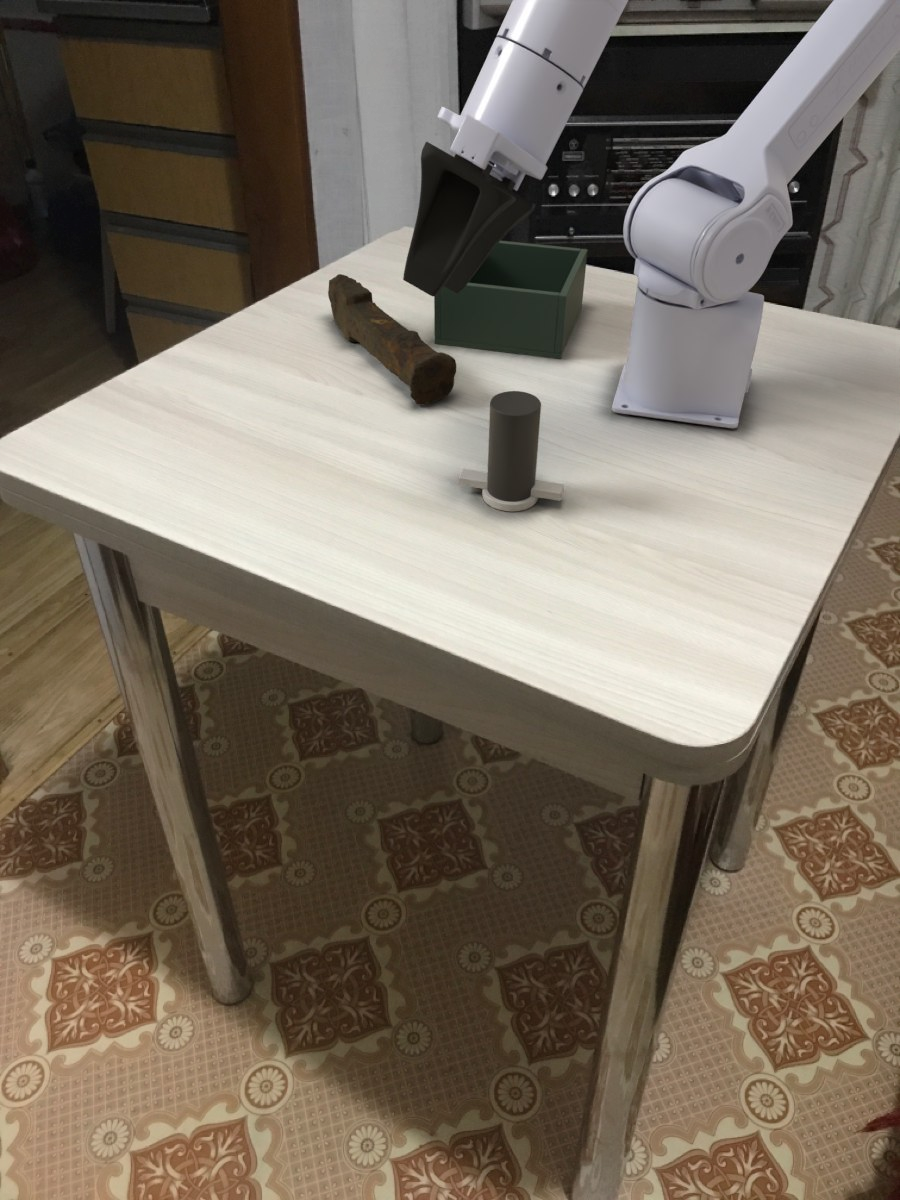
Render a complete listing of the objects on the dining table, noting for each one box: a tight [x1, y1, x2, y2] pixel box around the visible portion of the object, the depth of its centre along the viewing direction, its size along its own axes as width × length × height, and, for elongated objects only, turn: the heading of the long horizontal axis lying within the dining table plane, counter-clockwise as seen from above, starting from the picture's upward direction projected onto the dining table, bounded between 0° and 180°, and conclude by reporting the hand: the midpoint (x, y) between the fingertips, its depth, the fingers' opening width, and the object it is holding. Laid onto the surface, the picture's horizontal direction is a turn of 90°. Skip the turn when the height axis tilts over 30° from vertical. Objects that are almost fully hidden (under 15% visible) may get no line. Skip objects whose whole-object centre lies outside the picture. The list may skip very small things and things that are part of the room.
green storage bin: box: [433, 240, 589, 360], centre depth 81 cm, size 11×11×6 cm
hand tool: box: [327, 273, 457, 406], centre depth 76 cm, size 19×4×5 cm, turn 28°
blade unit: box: [458, 390, 565, 512], centre depth 59 cm, size 7×4×7 cm, turn 75°
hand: (432, 287), depth 57 cm, fingers open, 7 cm apart
